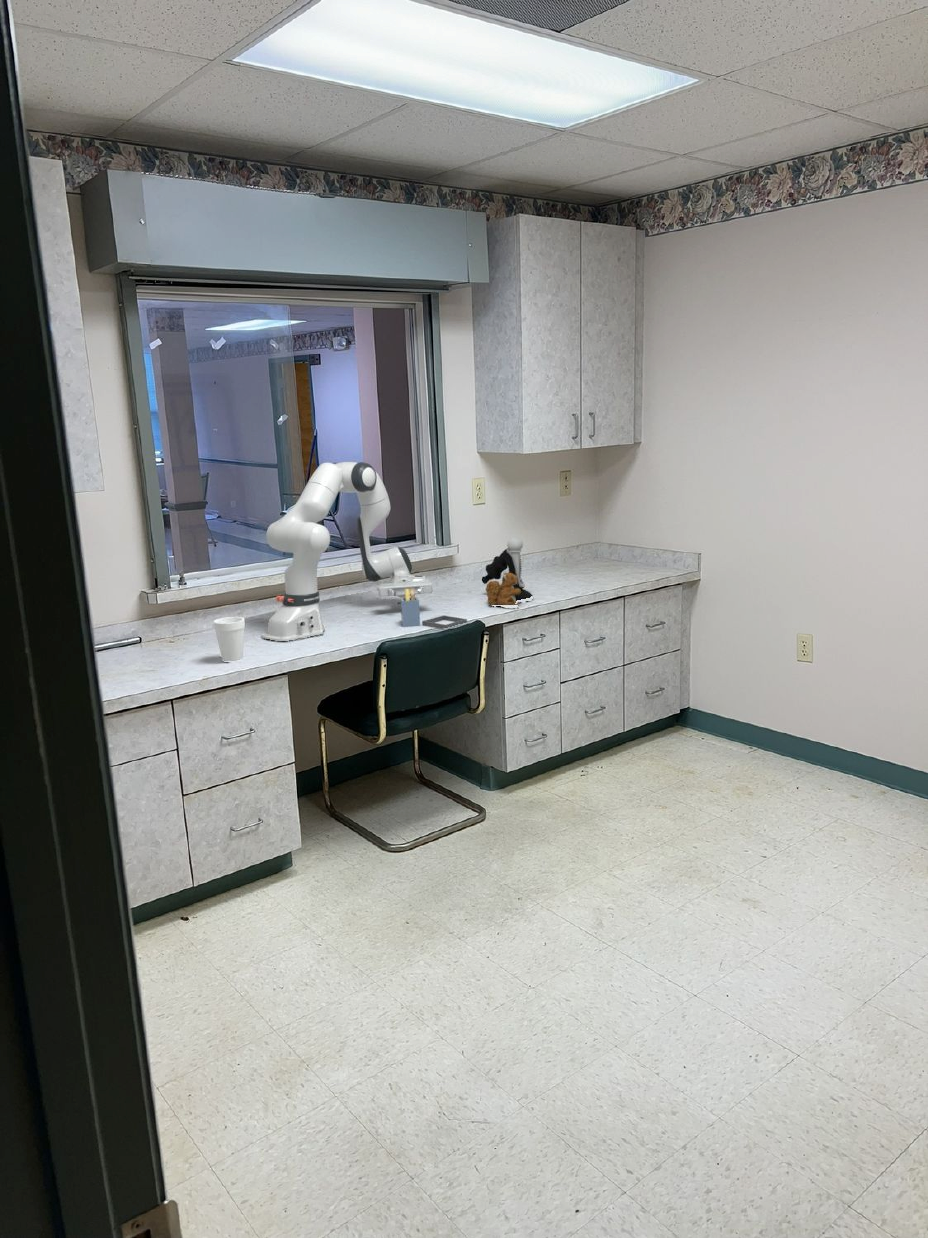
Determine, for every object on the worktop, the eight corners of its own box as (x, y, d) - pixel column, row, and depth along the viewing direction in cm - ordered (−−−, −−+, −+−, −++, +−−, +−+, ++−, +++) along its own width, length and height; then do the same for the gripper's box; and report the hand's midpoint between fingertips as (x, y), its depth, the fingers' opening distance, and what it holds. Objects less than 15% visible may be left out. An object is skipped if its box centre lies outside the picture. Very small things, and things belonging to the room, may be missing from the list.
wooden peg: (413, 625, 327) (412, 589, 324) (410, 624, 328) (409, 588, 325) (416, 624, 328) (415, 588, 325) (413, 623, 329) (412, 587, 326)
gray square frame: (445, 631, 319) (445, 625, 319) (422, 627, 326) (422, 621, 326) (467, 625, 327) (466, 619, 327) (443, 621, 334) (443, 615, 334)
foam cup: (250, 656, 295) (247, 616, 292) (245, 663, 286) (241, 623, 283) (220, 657, 295) (217, 617, 292) (214, 664, 286) (210, 624, 283)
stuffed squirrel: (519, 609, 351) (519, 575, 348) (483, 609, 353) (482, 575, 350) (522, 603, 360) (522, 570, 357) (487, 603, 363) (486, 570, 360)
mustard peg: (408, 626, 326) (407, 589, 323) (405, 625, 327) (404, 589, 324) (411, 625, 327) (410, 589, 324) (408, 624, 328) (407, 588, 325)
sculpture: (518, 604, 358) (517, 541, 353) (471, 598, 373) (469, 537, 367) (541, 598, 370) (540, 536, 364) (494, 592, 384) (492, 532, 379)
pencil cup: (403, 629, 325) (401, 601, 323) (401, 625, 331) (400, 598, 328) (420, 628, 326) (418, 600, 323) (418, 624, 331) (417, 597, 329)
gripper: (375, 579, 349) (378, 586, 336) (429, 575, 352) (433, 582, 339) (376, 595, 351) (379, 603, 337) (430, 591, 354) (434, 599, 340)
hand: (407, 592), depth 338 cm, fingers open, 8 cm apart
